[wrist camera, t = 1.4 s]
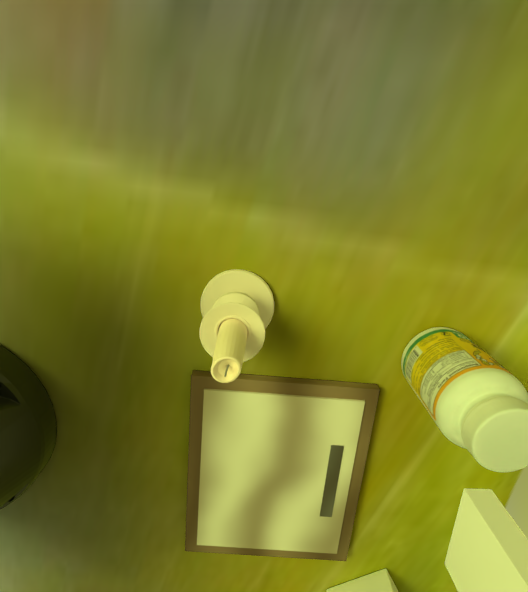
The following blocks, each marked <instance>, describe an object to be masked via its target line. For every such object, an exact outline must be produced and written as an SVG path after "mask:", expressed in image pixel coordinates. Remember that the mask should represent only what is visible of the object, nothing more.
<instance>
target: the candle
mask: <svg viewBox="0 0 528 592" xmlns="http://www.w3.org/2000/svg"><path fill="white" fill-rule="evenodd" d="M200 309H201V313H202V316H203V319H202V322H201V325H200V335H199V336H200V340H201V343H202V345H203V347H204V349H205V350H206V352H207V353H208V354H209V355H211V356H212V357H213V362H212V367H211V374H212V377H213V378H214V379H215V380H216V381H218V382H221V383H229V382H232V381H234V380H235V379H236V378H237V377H238V376H239V374H240V372H241V369H242V364H243V362H245V361H247V360H249V359H251V358H253V357H254V356H255V355H256V354H257V353H258V352H259V351H260V349H261V348H262V346H263V343H264V340H265V329H266V327H267V326H268V325H269V323H270V322H271V319H272V316H273V314H274V298H273V294H272V291H271V290H270V288H269V286H268V284H267V283H266V282H265V281H264V280H263V279H262V278H261V277H259V276H258V275H256V274H255V273H253V272H250V271H247V270H241V269H232V270H228V271H224V272H222V273H220V274H218V275H216V276H215V277H214V278H212V279H211V280H210V281H209V282H208V284H207V285H206V287H205V289H204V290H203V293H202V297H201V308H200Z"/></svg>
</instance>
